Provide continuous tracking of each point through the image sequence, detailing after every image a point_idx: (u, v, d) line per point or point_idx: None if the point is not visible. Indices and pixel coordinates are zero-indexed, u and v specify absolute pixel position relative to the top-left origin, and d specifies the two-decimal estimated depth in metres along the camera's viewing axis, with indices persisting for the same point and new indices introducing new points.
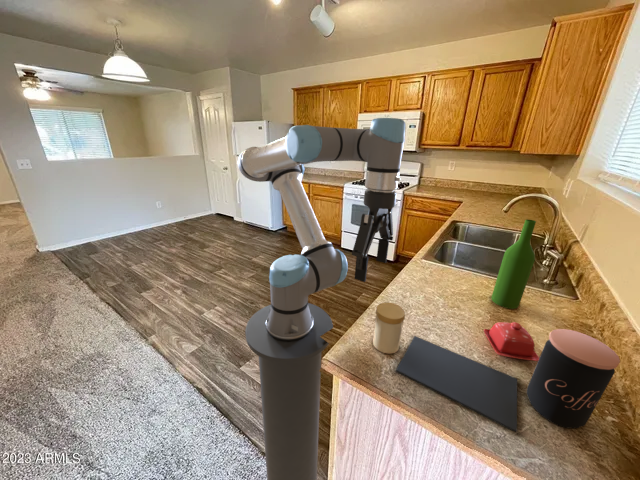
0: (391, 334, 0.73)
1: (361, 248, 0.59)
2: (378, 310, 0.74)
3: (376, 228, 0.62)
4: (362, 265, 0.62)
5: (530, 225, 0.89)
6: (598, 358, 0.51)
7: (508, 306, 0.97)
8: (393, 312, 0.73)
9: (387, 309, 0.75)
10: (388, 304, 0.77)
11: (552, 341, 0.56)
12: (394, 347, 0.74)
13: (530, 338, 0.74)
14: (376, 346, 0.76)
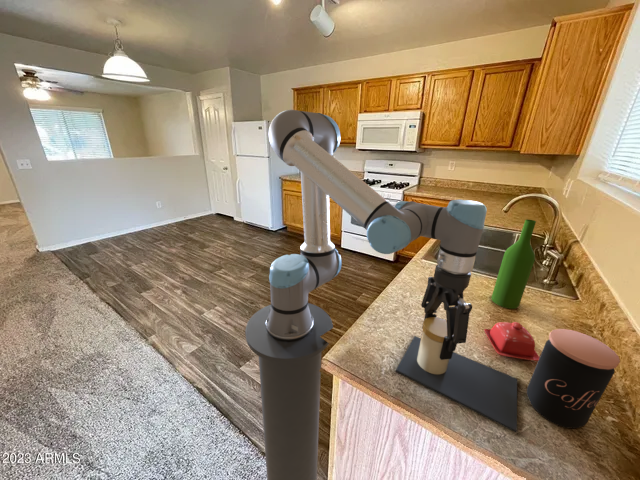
0: None
1: None
2: None
3: None
4: None
5: (530, 225, 0.89)
6: (598, 358, 0.51)
7: (508, 306, 0.97)
8: (439, 323, 0.68)
9: (442, 328, 0.66)
10: (434, 331, 0.65)
11: (552, 341, 0.56)
12: (444, 367, 0.67)
13: (530, 337, 0.74)
14: (422, 366, 0.69)
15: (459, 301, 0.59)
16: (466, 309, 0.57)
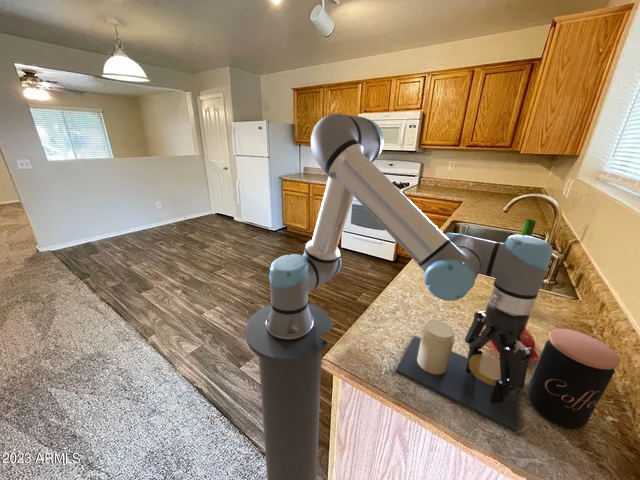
0: (442, 354, 0.65)
1: None
2: None
3: None
4: (469, 355, 0.68)
5: (530, 225, 0.89)
6: (598, 358, 0.51)
7: None
8: (487, 362, 0.64)
9: (492, 369, 0.62)
10: (485, 372, 0.61)
11: (552, 341, 0.56)
12: (444, 367, 0.67)
13: (531, 337, 0.74)
14: (422, 366, 0.69)
15: (517, 345, 0.54)
16: (527, 354, 0.53)
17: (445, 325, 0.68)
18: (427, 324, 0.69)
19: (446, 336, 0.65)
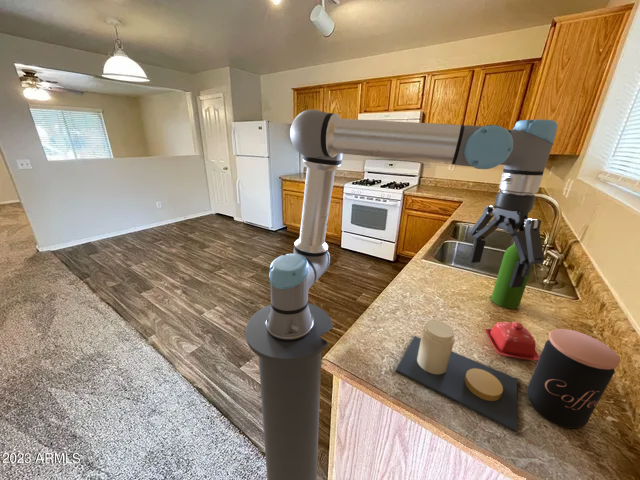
0: (442, 354, 0.65)
1: None
2: (500, 390, 0.62)
3: None
4: (473, 246, 0.75)
5: None
6: (598, 358, 0.51)
7: (508, 306, 0.97)
8: (482, 377, 0.65)
9: (487, 384, 0.63)
10: (480, 388, 0.62)
11: (552, 341, 0.56)
12: (444, 367, 0.67)
13: (531, 337, 0.74)
14: (422, 366, 0.69)
15: (525, 220, 0.59)
16: (535, 223, 0.57)
17: (445, 325, 0.68)
18: (427, 324, 0.69)
19: (446, 336, 0.65)
